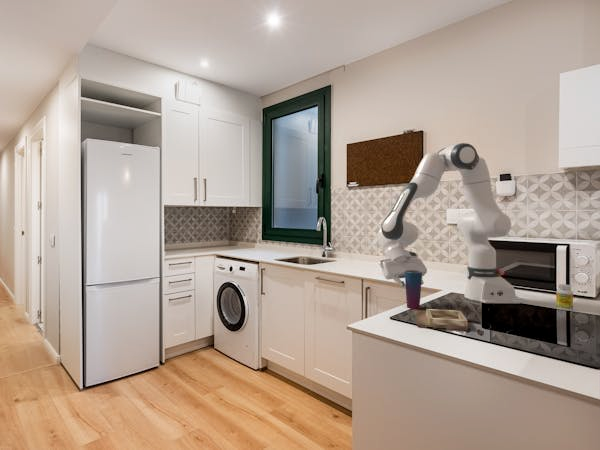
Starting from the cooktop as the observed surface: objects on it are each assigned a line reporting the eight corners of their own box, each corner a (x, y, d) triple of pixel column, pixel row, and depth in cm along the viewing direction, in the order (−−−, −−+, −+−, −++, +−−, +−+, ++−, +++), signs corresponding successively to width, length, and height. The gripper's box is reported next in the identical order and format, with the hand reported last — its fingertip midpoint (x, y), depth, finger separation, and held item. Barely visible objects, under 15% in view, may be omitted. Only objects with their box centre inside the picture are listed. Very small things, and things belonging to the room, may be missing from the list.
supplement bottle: (571, 307, 143) (572, 284, 142) (573, 311, 138) (574, 287, 138) (555, 306, 145) (555, 283, 145) (557, 309, 141) (557, 285, 140)
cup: (408, 304, 150) (408, 269, 150) (424, 306, 146) (424, 271, 145) (401, 307, 145) (402, 271, 144) (418, 310, 141) (418, 273, 140)
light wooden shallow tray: (457, 314, 135) (458, 307, 135) (468, 330, 117) (468, 321, 117) (414, 312, 139) (414, 304, 139) (417, 327, 121) (417, 318, 121)
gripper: (380, 255, 148) (394, 282, 140) (420, 253, 156) (435, 278, 147) (374, 264, 153) (388, 291, 144) (413, 261, 160) (428, 287, 151)
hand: (412, 285), depth 146 cm, fingers open, 8 cm apart
